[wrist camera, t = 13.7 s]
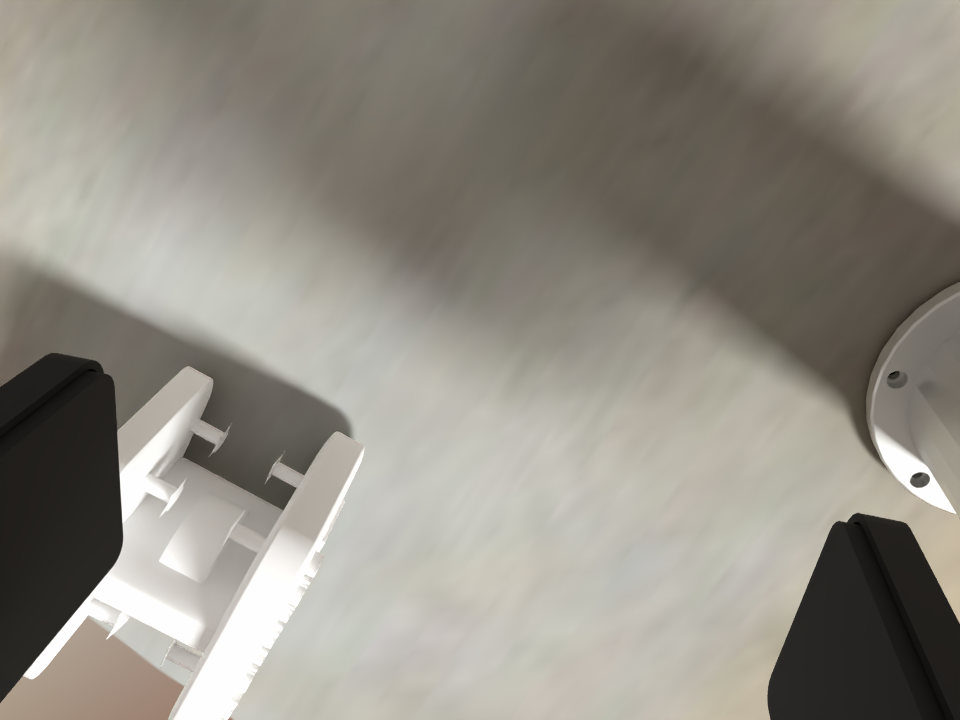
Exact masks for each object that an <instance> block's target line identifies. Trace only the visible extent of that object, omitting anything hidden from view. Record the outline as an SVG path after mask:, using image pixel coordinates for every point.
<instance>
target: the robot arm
mask: <svg viewBox="0 0 960 720" xmlns="http://www.w3.org/2000/svg"><path fill="white" fill-rule="evenodd" d="M894 371H896V373H895V374H893V375H889V374H890V373H892V372H894ZM866 420H867V424H868V428H869V432H870V436H871V440H872V442H873V444H874V446H875V448H876V450H877V452H878V454H879V457H880V459H881V460H882V462H883V463H884V465H885V466H886V468H887V469H888V470H889V472H890V473H891V475H892V476H893V478H894V479H895V480H896V481H897V482H898V483H899V484H900V485H901V486H903V487H904V488H905V489H906V490H907V491H908V492H909V493H911V494H913V495H914V496H916V497H918V498H919V499H921V500H922V501H924V502H926V503H927V504H929V505H931V506H934V507H936V508H939V509H942V510H944V511H947V512H950V513H952V514H956V515H957V516H958V517H959V519H960V282H958V283H956V284H954V285H952V286H950V287H948V288H946V289H944V290H942V291H941V292H939V293H938V294H937V295H935V296H934V297H932V298H931V299H930V300H928V301H927V302H925V303H924V304H923V305H921V306H920V307H918V308H917V309H916V310H915V311H914V312H913V313H912V314H911V315H910V316H909V317H908V318H907V319H906V320H905V321H904V322H903V323H902V324H901V325H900V326H899V327H898V328H897V329H896V331H895V332H894V334H893V335H892V336H891V338H890V339H889V341H888V342H887V344H886V345H885V346H884V348H883V349H882V351H881V353H880V355H879V357H878V360H877V362H876V364H875V366H874V368H873V371H872V373H871V377H870V381H869V386H868V390H867V395H866ZM122 545H123V522H122V505H121V488H120V472H119V455H118V438H117V421H116V404H115V387H114V381H113V379H112V377H111V376H109V375H108V374H104V372H103V369H102V367H101V365H100V364H99V363H98V362H97V361H94V360H89V359H84V358H79V357H74V356H69V355H64V354H59V353H51V354H48V355H46V356H44V357H43V358H42V359H40V360H39V361H37V362H36V363H34V364H33V365H31V366H30V367H29V368H27V369H26V370H24V371H23V372H21V373H20V374H19V375H17V376H16V377H14V378H13V379H11V380H10V381H8V382H7V383H6V384H4V385H3V386H1V387H0V703H1V701H2V700H3V699H4V698H5V697H6V695H7V694H8V693H9V692H10V691H11V689H12V688H13V687H14V686H15V684H16V683H17V682H18V681H19V680H20V678H21V677H22V676H23V675H24V674H25V672H26V671H27V670H28V669H29V668H30V666H31V665H32V664H33V663H34V662H35V660H36V659H37V658H38V657H39V656H40V654H41V653H42V652H43V651H44V650H45V648H46V647H47V646H48V645H49V643H50V642H51V641H52V640H53V639H54V637H55V636H56V635H57V634H58V633H59V631H60V630H61V629H62V628H63V627H64V625H65V624H66V623H67V622H68V621H69V619H70V618H71V617H72V616H73V615H74V613H75V612H76V611H77V610H78V608H79V607H80V606H81V605H82V604H83V602H84V601H85V600H86V599H87V598H88V596H89V595H90V594H91V593H92V592H93V590H94V589H95V588H96V587H97V586H98V584H99V583H100V582H101V581H102V579H103V578H104V577H105V576H106V575H107V573H108V572H109V571H110V570H111V569H112V567H113V566H114V565H115V563H116V562H117V560H118V557H119V555H120V552H121V549H122ZM768 709H769V714H770V719H771V720H960V624H959V622H958V620H957V618H956V616H955V614H954V612H953V610H952V608H951V606H950V604H949V602H948V600H947V598H946V597H945V595H944V593H943V591H942V589H941V587H940V585H939V583H938V581H937V579H936V577H935V575H934V573H933V571H932V569H931V568H930V566H929V564H928V562H927V560H926V558H925V556H924V554H923V552H922V550H921V548H920V546H919V544H918V542H917V541H916V539H915V537H914V535H913V533H912V531H911V529H910V528H909V526H908V525H907V524H906V523H904V522H900V521H895V520H890V519H885V518H880V517H875V516H870V515H865V514H860V513H856V514H854V515H853V516H852V517H851V518H850V519H849V520H848V522H847V523H846V522H841V521H838V522H836V523H835V524H834V525H833V526H832V528H831V530H830V532H829V535H828V537H827V540H826V542H825V544H824V547H823V549H822V552H821V554H820V557H819V559H818V562H817V564H816V567H815V569H814V571H813V574H812V576H811V579H810V581H809V584H808V586H807V589H806V591H805V594H804V596H803V598H802V601H801V603H800V606H799V608H798V611H797V613H796V616H795V618H794V621H793V623H792V625H791V628H790V630H789V633H788V635H787V638H786V640H785V643H784V645H783V648H782V650H781V652H780V655H779V657H778V660H777V662H776V665H775V667H774V670H773V672H772V675H771V678H770V681H769V686H768Z"/></svg>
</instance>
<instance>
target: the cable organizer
mask: <svg viewBox="0 0 960 720" xmlns="http://www.w3.org/2000/svg"><path fill="white" fill-rule="evenodd" d="M212 389H213V379H212V378H210V377H208V376H207V375H205V374H203V373H201V372H199V371H197V370H195V369H194V368H192V367H190V366H187V367H185V368H183V369H182V370H181V371H180V372H179V373H178V374H177V375H176V376H175V377H173V378H172V379H171V380H170V381H169V382H168V383H167V384H166V385H165V386H164V387H163V388H162V389H161V390H160V391H159V392H158V393H157V394H155V395H154V396H153V397H152V398H151V399H150V400H149V401H148V402H147V403H146V404H145V405H144V406H143V407H142V408H141V409H140V410H139V411H138V412H136V413H135V414H134V415H133V416H132V417H131V418H130V419H129V420H128V421H127V422H126V423H125V424H124V425H123V426H122V427H121V428H120V429H119V430H117V438H118V455H119V472H120V488H121V505H122V522H123V545H122V549H121V552H120V555H119V557H118V560H117V562H116V563H115V565H114V566H113V567H112V569H111V570H110V571H109V572H108V573H107V575H106V576H105V577H104V578H103V579H102V581H101V582H100V583H99V584H98V586H97V587H96V588H95V589H94V590H93V592H92V593H91V594H90V595H89V596H88V598H87V599H86V600H85V601H84V602H83V604H82V605H81V606H80V607H79V608H78V610H77V611H76V612H75V613H74V615H73V616H72V617H71V618H70V619H69V621H68V622H67V623H66V624H65V625H64V627H63V628H62V629H61V630H60V631H59V633H58V634H57V635H56V636H55V637H54V639H53V640H52V641H51V642H50V643H49V645H48V646H47V647H46V648H45V650H44V651H43V652H42V653H41V654H40V656H39V657H38V658H37V659H36V660H35V662H34V663H33V664H32V665H31V666H30V668H29V669H28V670H27V671H26V672H25V674H24V675H23V676H25V677H27V678H29V679H33V678H35V677H37V675H39V674H40V673H41V672H42V671H43V670H44V669H45V668H46V667H47V665H48V664H49V663H50V662H51V661H52V659H53V658H54V657H55V656H56V654H57V653H58V652H59V651H60V649H61V648H62V647H63V646H64V644H65V643H66V642H67V641H68V639H69V638H70V637H71V636H72V634H73V633H74V632H75V631H76V629H77V628H78V627H79V626H80V625H81V623H82V622H83V621H84V619H85V618H86V617H87V616H88V615H90V616H92V617H94V618H96V619H98V620H101V621H103V622H105V623H107V624H109V625H111V626H113V627H114V628H113V630H112V631H111V633H110V634H109V636H108V638H109V637H110V636H111V635H112V634H113V633H114V632H116V631H117V630H118V629H119V628H120V627H121V626H122V625H123V624H124V623H125V622H126V621H127V620H128V619H129V616H131V617H133V618H135V619H137V620H139V621H141V622H143V623H145V624H147V625H149V626H151V627H153V628H155V629H157V630H159V631H161V632H163V633H165V634H167V635H169V636H171V637H173V638H175V640H174V641H173V642H172V644H171V645H170V646H169V648H168V651H167V653H166V655H165V657H164V659H163V662H162V664H163V663H164V661H165V660H166V659H168V660H170V661H172V662H174V663H176V664H178V665H180V666H182V667H184V668H186V669H188V670H190V671H192V674H191V676H190V678H189V679H188V681H187V683H186V685H185V687H184V689H183V691H182V692H181V694H180V696H179V698H178V700H177V701H176V704H175V705H174V707H173V709H172V711H171V714H170V716H169V718H168V720H228V718H229V717H230V715H231V713H232V711H233V710H234V709H235V707H236V706H237V705H238V703H239V701H240V699H241V697H242V695H243V693H245V691H246V690H247V688H248V686H249V685H250V683H251V681H252V679H253V677H254V675H255V674H256V672H257V670H258V668H259V666H261V664H262V662H263V661H264V659H265V657H266V656H267V654H268V652H269V649H271V647H272V645H273V644H274V642H275V640H276V639H277V637H278V636H279V635H280V633H281V631H282V629H283V627H284V625H285V623H286V622H287V621H288V619H289V617H290V615H291V614H292V612H293V611H294V609H295V607H297V605H298V604H299V602H300V600H301V598H302V597H303V595H304V593H305V591H306V589H307V588H308V586H309V584H310V582H311V579H312V578H314V576H315V574H316V572H317V571H318V569H319V567H320V565H321V563H322V561H323V558H324V555H322V554H321V553H319V552H320V550H321V548H322V547H323V545H324V543H325V541H326V539H327V537H328V535H329V533H330V531H331V529H332V527H333V525H334V523H335V521H336V519H337V517H338V515H339V513H340V511H341V509H342V507H343V505H344V503H345V501H346V500H345V499H343V498H344V496H345V494H346V492H347V490H348V488H349V486H350V484H351V482H352V480H353V478H354V476H355V474H356V472H357V470H358V468H359V465H360V463H361V460H362V458H363V455H364V450H365V446H364V445H362V444H360V443H359V442H357V441H355V440H353V439H351V438H349V437H348V436H346V435H344V434H342V433H340V432H338V431H337V432H335V433H334V434H333V435H332V436H331V437H330V438H329V439H328V440H327V441H326V443H325V444H324V445H323V447H322V448H321V450H320V451H319V453H318V454H317V456H316V457H315V459H314V461H313V462H312V464H311V466H310V467H309V469H308V471H307V472H306V474H305V476H304V475H303V474H301V473H299V472H297V471H295V470H293V469H291V468H290V467H288V466H286V465H284V464H282V463H280V461H281V459H282V456H283V454H284V452H285V451H284V452H283V454H282V455H281V456H280V457H279V458H278V460H277V461H276V462H275V463H274V465H273V466H272V468H271V470H270V473H269V475H268V477H267V480H268V479H270V477H271V475H273V476H275V477H277V478H279V479H280V480H282V481H284V482H286V483H288V484H290V485H292V486H293V487H295V488H297V489H296V490H295V492H294V494H293V495H292V497H291V499H290V500H289V502H288V504H287V505H286V507H285V509H284V510H282V509H280V508H278V507H276V506H274V505H272V504H270V503H269V502H267V501H265V500H263V499H261V498H259V497H257V496H255V495H253V494H252V493H250V492H248V491H246V490H244V489H242V488H240V487H238V486H237V485H235V484H233V483H231V482H229V481H227V480H225V479H223V478H222V477H220V476H218V475H216V474H214V473H212V472H210V471H208V470H207V469H205V468H203V467H201V466H199V465H197V464H195V463H193V462H191V461H190V460H188V459H186V458H183V456H184V454H185V451H186V449H187V447H188V445H189V443H190V440H191V438H192V436H193V434H194V433H195V434H196V435H198V436H200V437H202V438H204V439H206V440H208V441H210V442H211V443H213V444H215V445H216V446H215V448H214V449H213V451H212V452H211V454H212V453H213V452H214V451H215V452H216V451H217V450H218V449H219V447H220V446H221V445H222V444H223V442H224V441H225V439H226V437H227V435H228V433H229V432H228V431H229V428H230V426H231V424H232V423H231V424H230V426H229V427H228V429H227V430H226V432H225V433H224V432H223V431H221V430H219V429H217V428H215V427H213V426H211V425H210V424H208V423H206V422H204V421H202V420H200V418H201V416H202V414H203V412H204V410H205V407H206V405H207V403H208V401H209V398H210V395H211V392H212ZM211 454H210V455H211ZM210 455H209V456H210ZM267 480H266V482H267ZM266 482H265V483H266ZM264 485H265V484H264ZM101 601H102V602H101ZM103 602H104V603H103ZM105 603H106V604H105ZM108 638H107V639H108ZM177 641H180V642H182V643H184V644H186V645H188V646H190V647H192V648H194V649H196V650H199V651H201V652H203V654H202V656H199V655H197V654H195V653H193V652H191V651H189V650H187V649H185V648H183V647H181V646H179V645H177V644H176V642H177ZM162 664H161V666H162ZM161 666H160V667H161ZM159 669H160V668H159Z"/></svg>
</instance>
